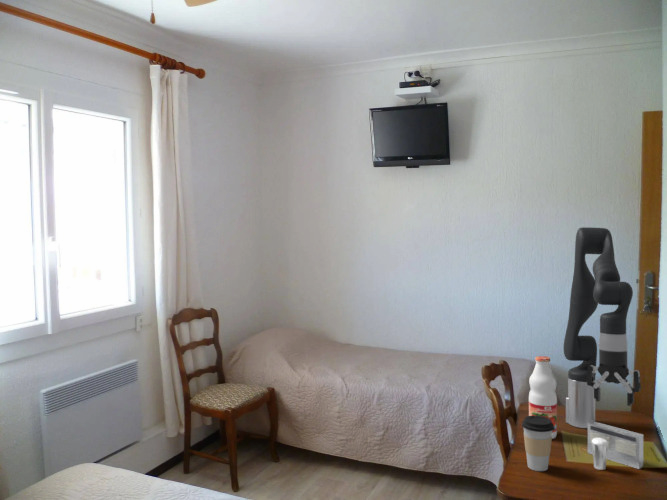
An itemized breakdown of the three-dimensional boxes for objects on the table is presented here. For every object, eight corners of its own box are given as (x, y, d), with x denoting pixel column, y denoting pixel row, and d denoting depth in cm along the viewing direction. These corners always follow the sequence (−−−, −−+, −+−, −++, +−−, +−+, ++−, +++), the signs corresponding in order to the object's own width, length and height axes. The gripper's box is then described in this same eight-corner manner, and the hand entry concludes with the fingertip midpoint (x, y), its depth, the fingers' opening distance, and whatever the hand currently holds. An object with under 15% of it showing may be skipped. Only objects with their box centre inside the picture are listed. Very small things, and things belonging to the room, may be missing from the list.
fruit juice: (552, 430, 204) (552, 354, 203) (560, 440, 195) (560, 360, 193) (525, 429, 205) (525, 354, 204) (532, 439, 196) (532, 360, 194)
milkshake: (612, 471, 170) (612, 439, 170) (593, 470, 171) (593, 438, 171) (608, 465, 174) (608, 433, 174) (590, 464, 176) (590, 432, 175)
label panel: (587, 453, 184) (587, 423, 183) (592, 450, 186) (592, 420, 185) (638, 469, 171) (638, 437, 171) (643, 466, 173) (643, 434, 173)
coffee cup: (530, 458, 181) (530, 412, 180) (559, 467, 174) (559, 419, 173) (516, 467, 174) (516, 420, 173) (545, 477, 167) (545, 427, 167)
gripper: (642, 349, 166) (643, 404, 165) (591, 344, 175) (591, 397, 174) (637, 352, 160) (637, 409, 159) (584, 347, 169) (584, 401, 168)
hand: (613, 403), depth 167 cm, fingers open, 8 cm apart
